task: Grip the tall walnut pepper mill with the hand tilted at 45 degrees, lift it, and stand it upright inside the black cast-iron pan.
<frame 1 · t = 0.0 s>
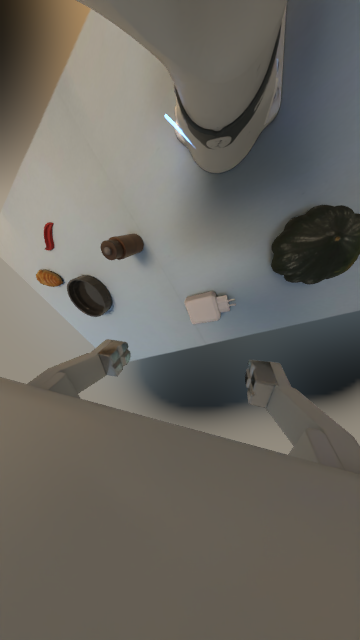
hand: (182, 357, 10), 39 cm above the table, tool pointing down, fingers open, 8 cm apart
charger: (211, 303, 50), on the table
squash: (299, 245, 35), on the table
pastry: (53, 277, 61), on the table
cayenne pepper: (50, 237, 51), on the table
pepper mill: (135, 243, 45), on the table
pan: (94, 294, 60), on the table
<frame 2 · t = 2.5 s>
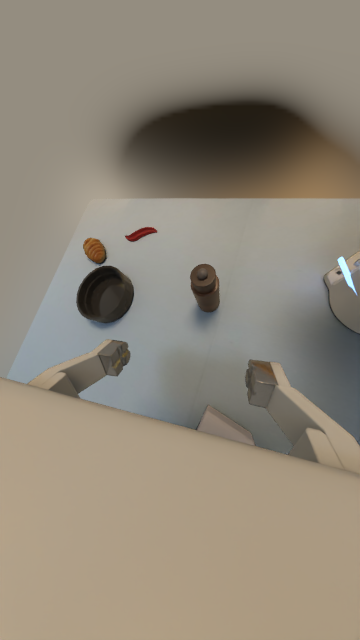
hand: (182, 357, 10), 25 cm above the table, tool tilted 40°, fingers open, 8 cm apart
charger: (233, 448, 28), on the table
pastry: (99, 253, 51), on the table
cayenne pepper: (140, 235, 48), on the table
pepper mill: (208, 302, 36), on the table
pan: (110, 297, 45), on the table
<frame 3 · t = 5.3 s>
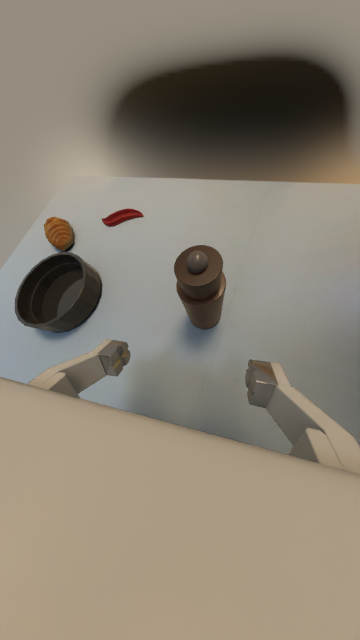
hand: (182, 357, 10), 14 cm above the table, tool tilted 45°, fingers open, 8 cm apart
pastry: (66, 238, 39), on the table
cayenne pepper: (121, 220, 37), on the table
pepper mill: (204, 314, 25), on the table
pan: (70, 296, 32), on the table
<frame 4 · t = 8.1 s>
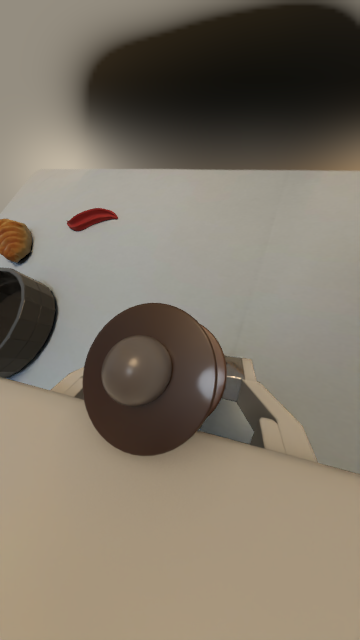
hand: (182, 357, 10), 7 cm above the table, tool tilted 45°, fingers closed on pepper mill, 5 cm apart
pastry: (23, 246, 31), on the table
cayenne pepper: (91, 222, 28), on the table
pepper mill: (194, 366, 16), on the table, touching gripper
pan: (16, 326, 24), on the table
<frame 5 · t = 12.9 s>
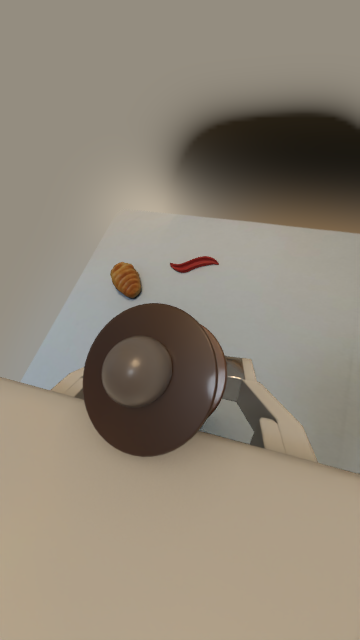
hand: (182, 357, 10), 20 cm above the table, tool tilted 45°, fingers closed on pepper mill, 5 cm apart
pastry: (130, 282, 38), on the table
cayenne pepper: (193, 265, 35), on the table
pepper mill: (194, 366, 16), point 12 cm above the table, touching gripper
when the fingers open (8 cm above the table, at t = 18.0 s): pepper mill stays where it is, resting on pan.
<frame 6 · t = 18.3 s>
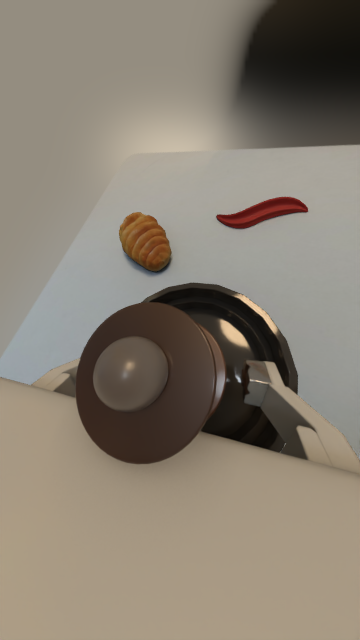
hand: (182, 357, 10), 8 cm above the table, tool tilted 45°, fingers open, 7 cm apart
pastry: (150, 249, 24), on the table
cayenne pepper: (258, 217, 21), on the table
pepper mill: (193, 367, 16), point 1 cm above the table, touching pan
pan: (194, 366, 17), on the table
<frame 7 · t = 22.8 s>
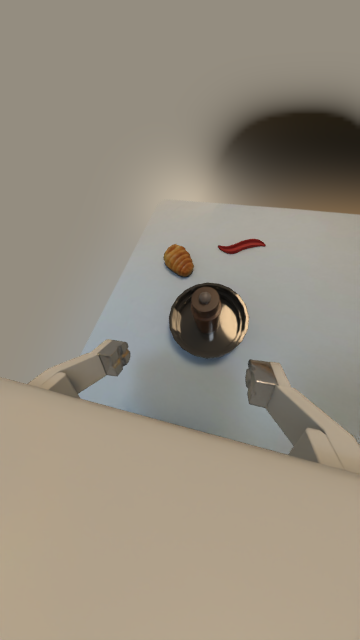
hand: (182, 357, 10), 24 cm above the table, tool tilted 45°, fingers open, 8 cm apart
pastry: (180, 263, 42), on the table
cayenne pepper: (240, 247, 39), on the table
pepper mill: (207, 322, 34), resting on pan
pan: (207, 323, 35), on the table
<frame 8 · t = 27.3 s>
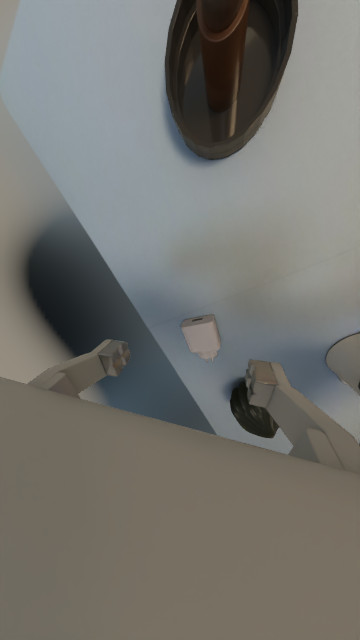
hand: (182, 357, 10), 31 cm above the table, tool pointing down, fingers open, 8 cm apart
charger: (204, 337, 46), on the table
squash: (251, 389, 51), on the table
pepper mill: (223, 86, 23), resting on pan
pan: (223, 88, 23), on the table
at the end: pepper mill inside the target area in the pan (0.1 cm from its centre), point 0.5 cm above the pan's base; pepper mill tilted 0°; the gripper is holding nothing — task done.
